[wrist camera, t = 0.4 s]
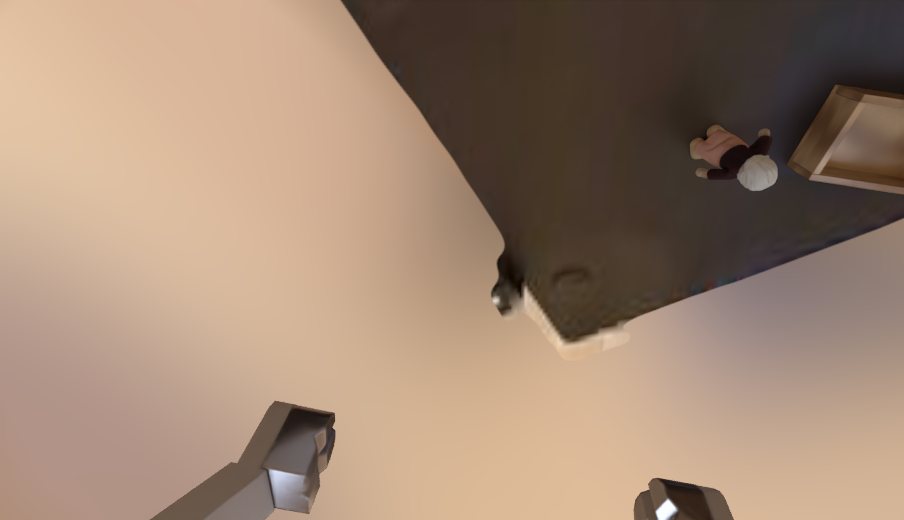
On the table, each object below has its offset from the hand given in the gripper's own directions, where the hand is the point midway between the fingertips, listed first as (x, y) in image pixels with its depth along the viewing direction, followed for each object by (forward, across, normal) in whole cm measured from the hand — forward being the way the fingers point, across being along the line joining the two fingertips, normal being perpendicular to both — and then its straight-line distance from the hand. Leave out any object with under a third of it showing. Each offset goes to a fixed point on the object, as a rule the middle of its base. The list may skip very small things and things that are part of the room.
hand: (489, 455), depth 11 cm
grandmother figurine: (+48, -26, +2) cm, 55 cm away
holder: (+48, -43, -1) cm, 65 cm away
